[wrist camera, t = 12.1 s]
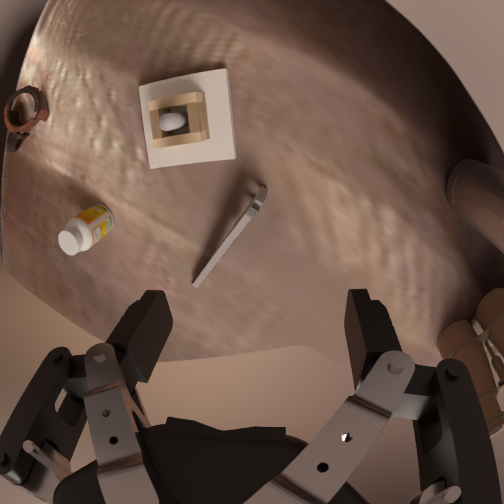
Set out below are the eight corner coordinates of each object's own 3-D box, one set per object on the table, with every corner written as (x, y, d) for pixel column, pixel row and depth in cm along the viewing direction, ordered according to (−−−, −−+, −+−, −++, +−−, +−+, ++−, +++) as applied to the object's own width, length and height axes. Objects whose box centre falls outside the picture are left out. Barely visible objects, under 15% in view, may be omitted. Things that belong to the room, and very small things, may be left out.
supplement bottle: (119, 225, 43) (87, 253, 35) (99, 236, 45) (68, 264, 36) (104, 197, 41) (68, 220, 33) (84, 210, 43) (49, 234, 34)
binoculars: (443, 358, 50) (475, 450, 29) (428, 339, 48) (466, 443, 26) (510, 303, 42) (562, 384, 20) (503, 277, 39) (567, 364, 18)
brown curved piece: (23, 88, 33) (8, 81, 26) (62, 93, 37) (52, 86, 30) (5, 148, 35) (-12, 151, 29) (44, 155, 40) (31, 158, 33)
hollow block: (205, 93, 31) (195, 91, 28) (210, 138, 34) (201, 141, 31) (161, 101, 32) (147, 101, 29) (166, 144, 35) (154, 148, 31)
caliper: (261, 183, 38) (257, 197, 33) (268, 188, 38) (265, 202, 33) (192, 283, 47) (181, 306, 42) (198, 286, 48) (187, 310, 42)
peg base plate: (228, 69, 31) (214, 60, 24) (237, 156, 36) (225, 168, 30) (143, 86, 33) (115, 85, 26) (154, 166, 38) (129, 179, 32)
